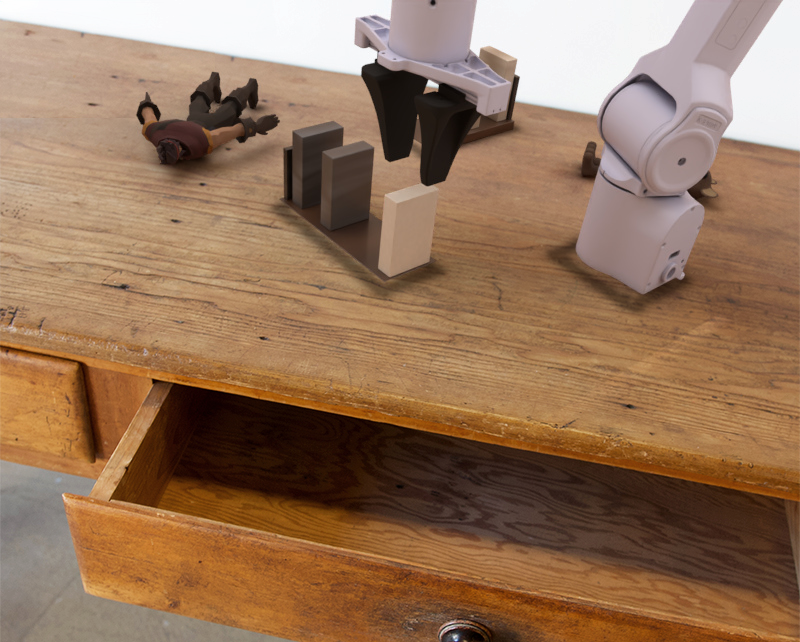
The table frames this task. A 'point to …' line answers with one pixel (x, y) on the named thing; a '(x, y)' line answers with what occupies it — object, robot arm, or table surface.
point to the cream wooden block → (407, 228)
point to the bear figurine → (697, 191)
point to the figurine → (204, 122)
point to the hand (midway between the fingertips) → (414, 169)
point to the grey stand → (335, 191)
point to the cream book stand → (503, 120)
